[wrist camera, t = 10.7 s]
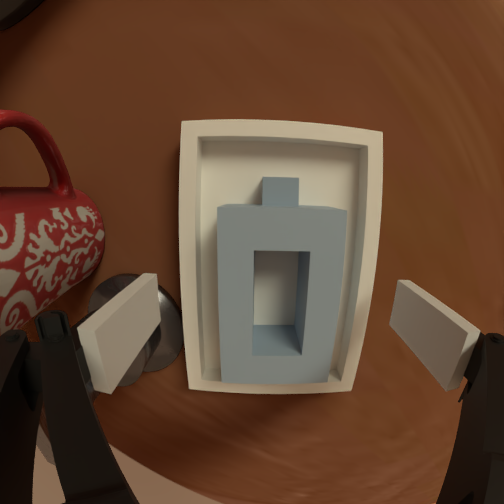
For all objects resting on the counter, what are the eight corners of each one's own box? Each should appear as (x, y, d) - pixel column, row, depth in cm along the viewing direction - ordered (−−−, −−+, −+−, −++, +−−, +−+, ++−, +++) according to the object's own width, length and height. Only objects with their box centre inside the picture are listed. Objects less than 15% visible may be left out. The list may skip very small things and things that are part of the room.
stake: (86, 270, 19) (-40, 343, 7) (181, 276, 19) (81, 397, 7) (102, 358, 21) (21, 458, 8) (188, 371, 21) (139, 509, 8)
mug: (97, 311, 20) (-13, 410, 7) (24, 257, 19) (-89, 306, 6) (157, 161, 18) (2, 124, 5) (69, 119, 17) (-66, 85, 4)
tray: (190, 128, 17) (181, 121, 15) (369, 138, 17) (382, 132, 15) (194, 372, 21) (189, 389, 19) (344, 374, 21) (351, 390, 19)
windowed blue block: (316, 350, 20) (327, 382, 16) (228, 349, 20) (221, 382, 16) (329, 181, 17) (348, 178, 13) (226, 178, 17) (217, 174, 13)
